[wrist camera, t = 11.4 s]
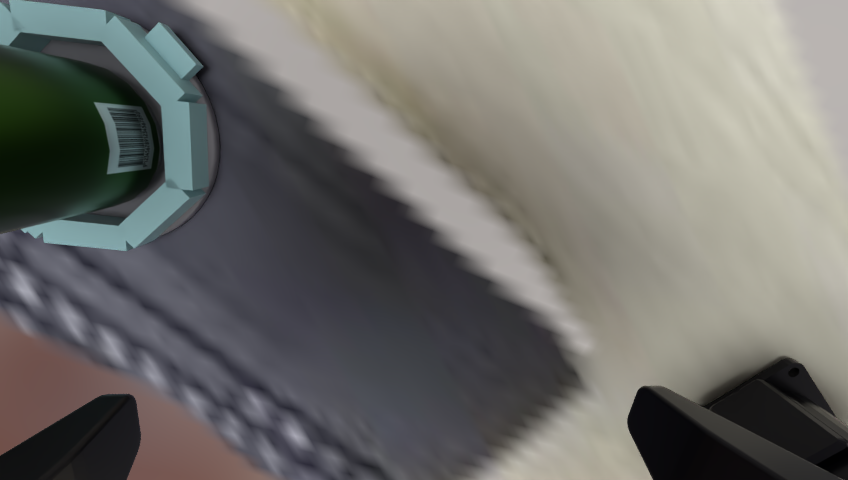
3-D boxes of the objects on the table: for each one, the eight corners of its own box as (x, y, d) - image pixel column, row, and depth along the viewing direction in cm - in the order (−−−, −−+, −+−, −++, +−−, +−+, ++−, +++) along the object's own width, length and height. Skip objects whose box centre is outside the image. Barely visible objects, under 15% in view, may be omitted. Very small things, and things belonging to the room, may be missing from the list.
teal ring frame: (275, 142, 17) (258, 143, 15) (114, 287, 18) (81, 303, 17) (103, -55, 15) (60, -80, 13) (-60, 126, 16) (-117, 126, 15)
